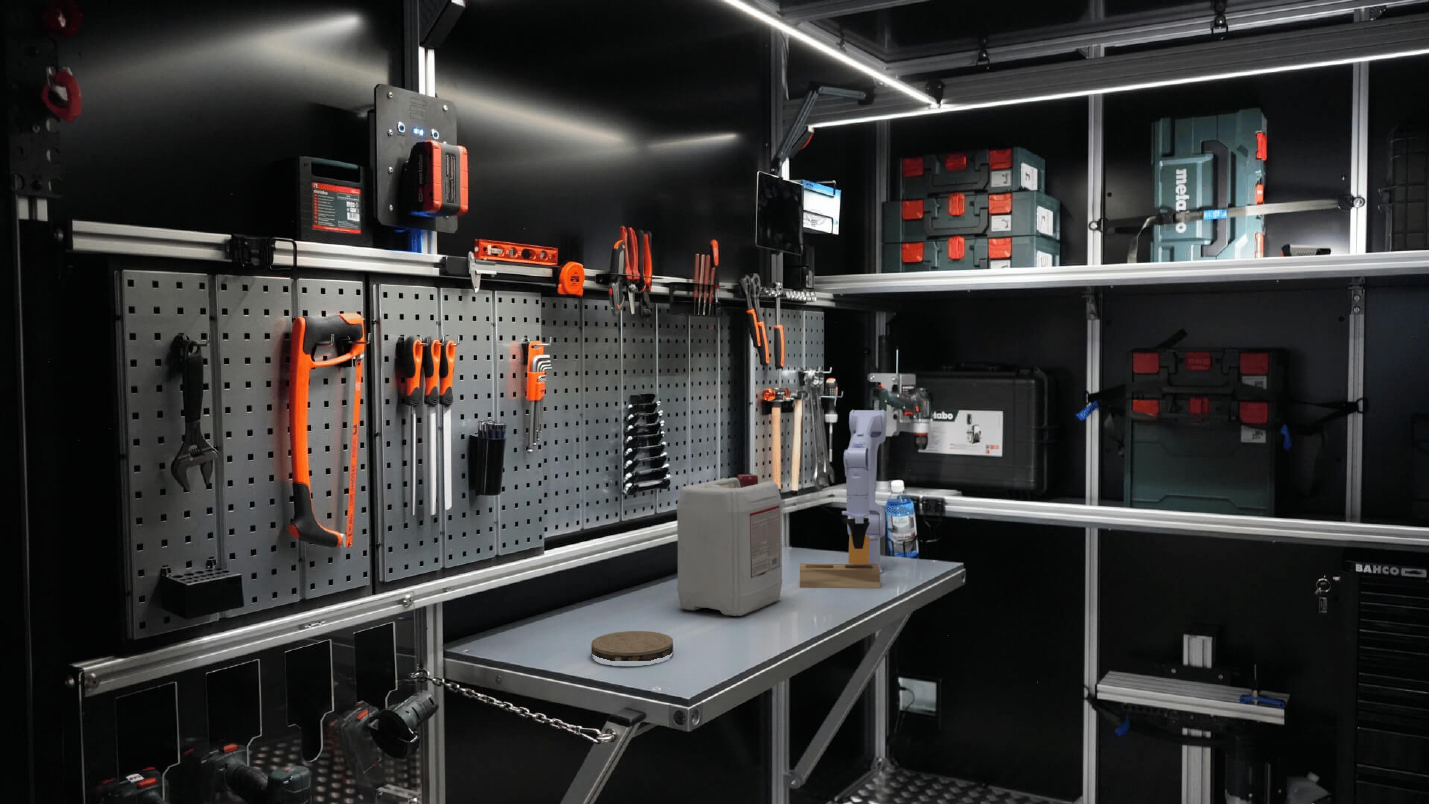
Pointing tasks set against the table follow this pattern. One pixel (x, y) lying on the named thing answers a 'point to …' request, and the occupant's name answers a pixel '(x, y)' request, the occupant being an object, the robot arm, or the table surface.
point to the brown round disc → (632, 646)
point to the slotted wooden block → (840, 575)
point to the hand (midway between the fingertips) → (858, 547)
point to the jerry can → (729, 545)
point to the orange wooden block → (859, 552)
